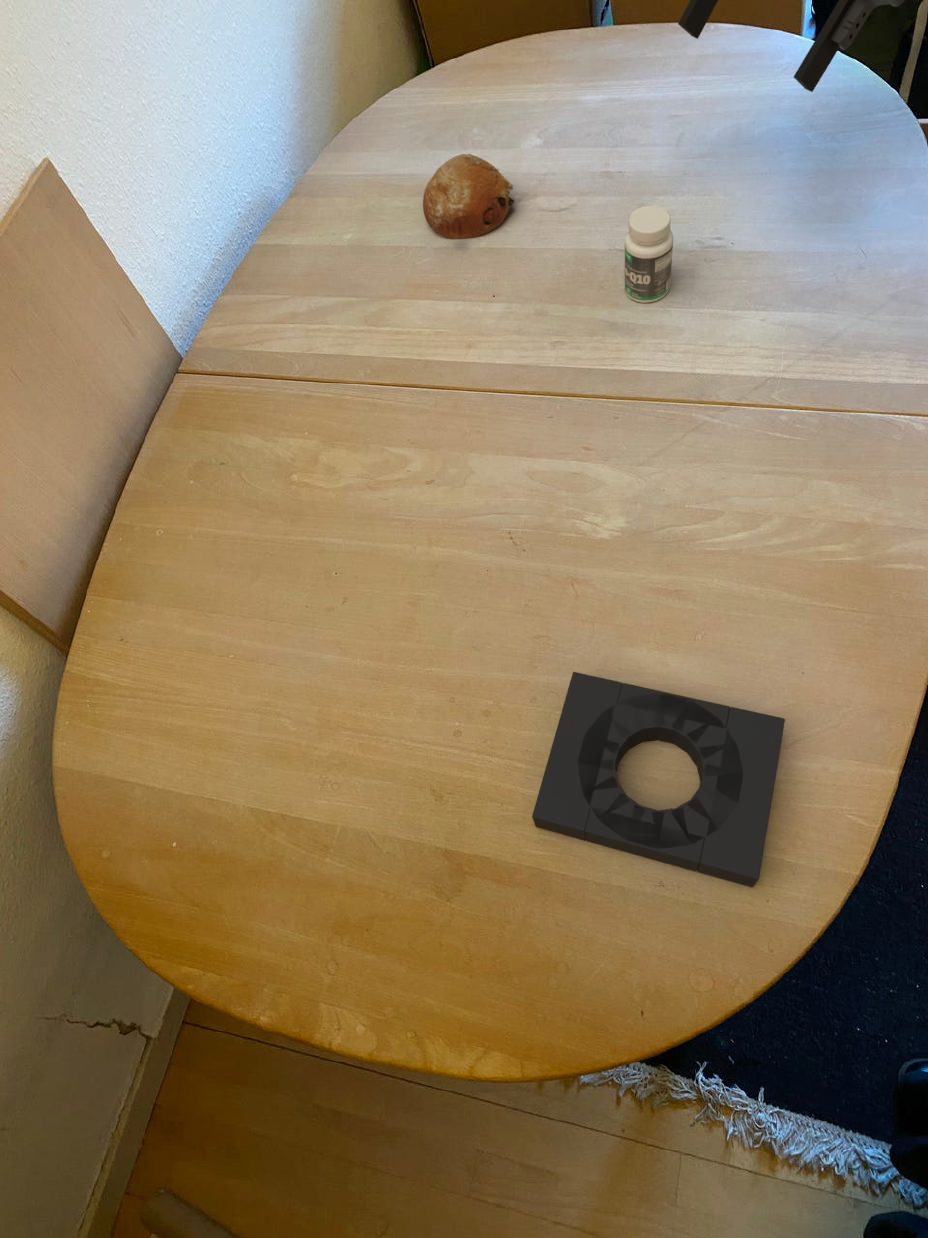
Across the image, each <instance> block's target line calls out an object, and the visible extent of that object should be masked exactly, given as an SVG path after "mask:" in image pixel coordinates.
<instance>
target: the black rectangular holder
mask: <svg viewBox="0 0 928 1238" xmlns="http://www.w3.org/2000/svg"><path fill="white" fill-rule="evenodd" d="M785 721H786V719H785V718H784V717H780V716H774V715H771V714H765V713H761V712H756V711H752V710H748V709H743V708H739V707H735V706H730V705H727V704H721V703H717V702H711V701H707V700H703V699H699V698H694V697H689V696H684V695H680V694H675V693H671V692H666V691H663V690H657V689H653V688H649V687H645V686H644V687H643V686H640V685H636V684H635V685H634V684H631V683H627V682H626V683H625V682H622V681H618V680H613V679H608V678H604V677H599V676H595V675H591V674H586V673H581V672H577V671H572V674H571V678H570V680H569V685H568V688H567V691H566V695H565V699H564V702H563V706H562V709H561V713H560V716H559V720H558V723H557V727H556V730H555V734H554V737H553V742H552V745H551V748H550V751H549V755H548V758H547V762H546V765H545V766H546V767H545V769H544V772H543V776H542V779H541V784H540V787H539V790H538V794H537V797H536V800H535V805H534V808H533V811H532V815H531V818H532V820H533V824H534V826H535V827H536V828H538V829H541V830H545V831H548V832H552V833H556V834H560V835H563V836H566V837H571V838H574V839H577V840H581V841H585V842H588V843H592V844H595V845H598V846H599V845H600V846H603V847H605V848H610V849H613V850H616V851H621V852H623V853H627V854H631V855H634V856H638V857H642V858H645V859H649V860H652V861H656V862H660V863H662V864H663V863H664V864H667V865H670V866H675V867H678V868H681V869H684V870H689V871H692V872H697V873H699V874H703V875H706V876H710V877H714V878H717V879H720V880H724V881H728V882H732V883H735V884H738V885H743V886H746V887H750V888H754V886H755V885H756V883H757V882H758V881H759V880H760V874H761V868H762V862H763V857H764V850H765V845H766V838H767V833H768V826H769V819H770V815H771V813H770V812H771V809H772V808H771V807H772V801H773V796H774V789H775V784H776V783H775V782H776V778H777V771H778V764H779V759H780V753H781V746H782V740H783V734H784V729H785V723H786V722H785ZM653 741H660V742H665V743H669V744H673V745H675V746H676V747H678V748H679V749H680V750H682V751H684V752H685V753H686V754H687V755H688V756H689V757H690V760H691V761H692V762H693V763H694V765H695V766H696V769H697V774H698V778H699V787H698V788H697V790H696V792H695V793H693V795H692V797H691V798H690V799H689V800H687V801H686V802H684V803H682V804H680V805H679V806H678V807H675V808H674V807H673V808H665V809H655V808H651V807H648V806H644V805H641V804H639V803H638V802H636V800H634V799H633V798H631V797H630V796H628V794H627V793H626V792H625V790H624V788H623V787H622V785H621V783H620V781H618V779H619V778H618V774H617V772H618V767H619V765H620V762H621V760H622V759H623V758H624V756H625V755H626V754H627V752H628V751H629V750H631V749H632V748H635V746H637V745H639V744H641V743H646V742H653Z"/></svg>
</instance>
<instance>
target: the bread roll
mask: <svg viewBox="0 0 928 1238" xmlns="http://www.w3.org/2000/svg"><path fill="white" fill-rule="evenodd" d="M513 189H514V185H513V184H512V183H511V182H510V181H509V180H507V178H506V177H505V176H503V175H502V173H501V172H500V170H499V168H497V167H495V166H494V165H493V164H491V163H490V162H488V161H487V160H485V159H483V158H481V157H479V156H477V155H473V154H472V153H461V154H458V155H455V156H453V157H451V158H450V159H448V160H446V161H445V162H444V163H443V164H441V165H440V166H439V167H438V168H437V169H436V170H435V173H434V174H433V176H432V177H431V178H430V179H429V181H428V182H427V184H426V186H425V188H424V193H423V198H422V210H423V215H424V218H425V221H426V223H427V224H428V226H429V227H430V228H431V229H432V230H433V231H434V232H435V233H437V234H438V235H441V236H442V237H445V238H448V239H451V240H452V239H453V240H454V239H455V240H456V239H457V240H459V239H470V238H477V237H481V236H483V235H486V234H487V233H490V232H492V231H494V230H495V229H497V228H498V227H499V226H500V225H501V224H502V223H503V222H504V221H505V219H506V216H507V214H508V212H509V211H510V208H511V206H513V205H514V204H515V199H512V198H511V196H510V191H512V190H513Z"/></svg>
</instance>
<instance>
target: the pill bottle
mask: <svg viewBox="0 0 928 1238" xmlns="http://www.w3.org/2000/svg"><path fill="white" fill-rule="evenodd" d="M671 221H672V217H671V213H670V212H669V211H668V210H667V209H666V208H664V207H662V206H660V205H659V206H658V205H645V206H641V207H639V208H637V209H635V210H634V211H633V212H632V213H631V214H630V215H629V218H628V232H627V233H626V235H625V237H624V292H625V294H626V295H627V297H628V298H630V300H632V301H635V302H637V303H645V304H647V303H653V302H656V301H659V300H661V299H662V298H664V297H665V296H666V295H667V294H668V292H669V291H670V287H671V279H672V278H671V277H672V267H673V266H672V264H673V252H674V251H673V249H674V234H673V231H672V229H671Z"/></svg>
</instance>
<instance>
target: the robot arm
mask: <svg viewBox="0 0 928 1238" xmlns="http://www.w3.org/2000/svg"><path fill="white" fill-rule="evenodd" d="M905 1H906V0H838V1H837V3H836V4H835V6H834V8H833V10H832V11H831V12H830V14H829V16H828V18H827V20H826V21H825V23H824V24H823V26H822V28H821V30H820V31H819V33H818V35H817V37H816V38H815V40H814V42H813V43H812V44H811V46H810V49H809V50H808V51H807V53H806V55H805V57H804V58H803V60H802V62H801V63H800V65H799V67H798V68H797V70H796V71H795V73H794V75H793V79H794V80H795V81H796V82H798V83H799V84H800V85H801V87H803V88H804V90H807V91H808V92H810V93H813V92H814V90H815V89H816V87H817V85H818V83H819V82H820V80H821V79H822V77H823V75H824V74H825V72H826V70H827V69H828V67H829V66H830V64H831V63H832V61H833V59H834V57H835V56H836V54H837V53H838V51H839V49H841V50H843V51H846V50H847V49H848V48H849V47H850V46H851V45H852V44H853V42H854V40H855V39H856V37H857V36H858V34H859V32H860V31H861V29H862V27H863V26H864V24H865V23H866V21H867V19H868V18H869V16H870V15H871V13H872V12H873V10H874V9H876V8H877V7H880V6H888V5H890V6H892V7H894V8H897V7H899V6H901V5H902V4H903V3H904V2H905ZM718 2H719V0H689V2H688V3H687V5H686V7H685V9H684V11H683V13H682V15H681V17H680V19H679V21H678V23H677V25H679V26H680V28H682V29H683V30H684V31H685V32H686V33H688V35H690V36H691V37H692V38H694V39H697V40H699V38H700V36H701V34H702V32H703V30H704V28H705V26H706V24H707V22H708V21H709V18H710V17H711V15H712V13H713V11H714V9H715V7H716V5H717V3H718Z"/></svg>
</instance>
